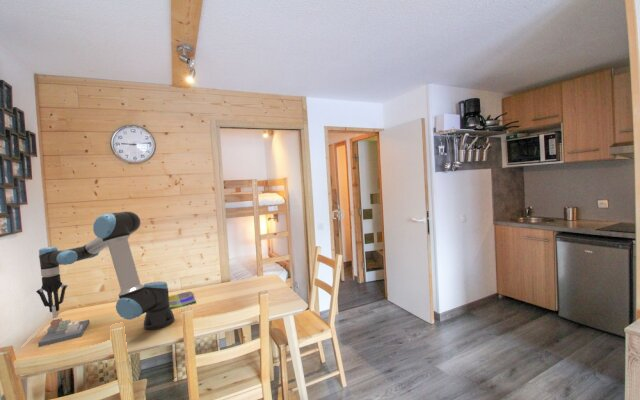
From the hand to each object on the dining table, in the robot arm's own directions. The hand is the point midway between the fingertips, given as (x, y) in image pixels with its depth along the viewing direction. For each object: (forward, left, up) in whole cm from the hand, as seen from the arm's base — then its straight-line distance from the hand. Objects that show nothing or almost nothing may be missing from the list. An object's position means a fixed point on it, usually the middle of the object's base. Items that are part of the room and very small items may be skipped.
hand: (55, 317), depth 164 cm
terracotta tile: (0, 0, -5) cm, 5 cm away
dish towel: (+5, -63, -9) cm, 63 cm away
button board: (-6, -5, -9) cm, 12 cm away
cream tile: (-12, -10, -5) cm, 17 cm away
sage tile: (-6, -5, -5) cm, 9 cm away
